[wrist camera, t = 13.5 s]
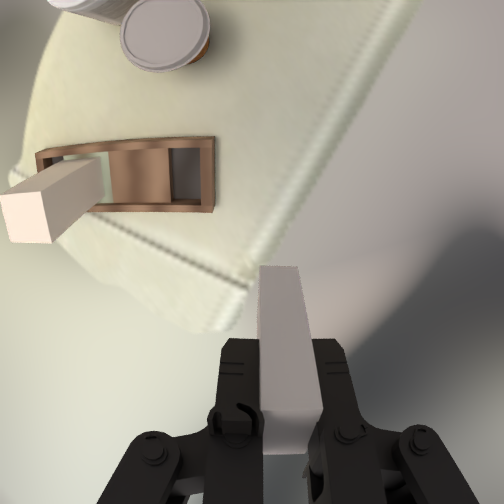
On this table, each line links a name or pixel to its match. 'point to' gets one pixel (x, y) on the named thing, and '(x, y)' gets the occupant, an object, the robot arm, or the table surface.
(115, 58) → the table surface
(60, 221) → the block
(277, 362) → the robot arm
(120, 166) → the trap track
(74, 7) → the supplement tub
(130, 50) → the disposable coffee cup
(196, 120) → the table surface
